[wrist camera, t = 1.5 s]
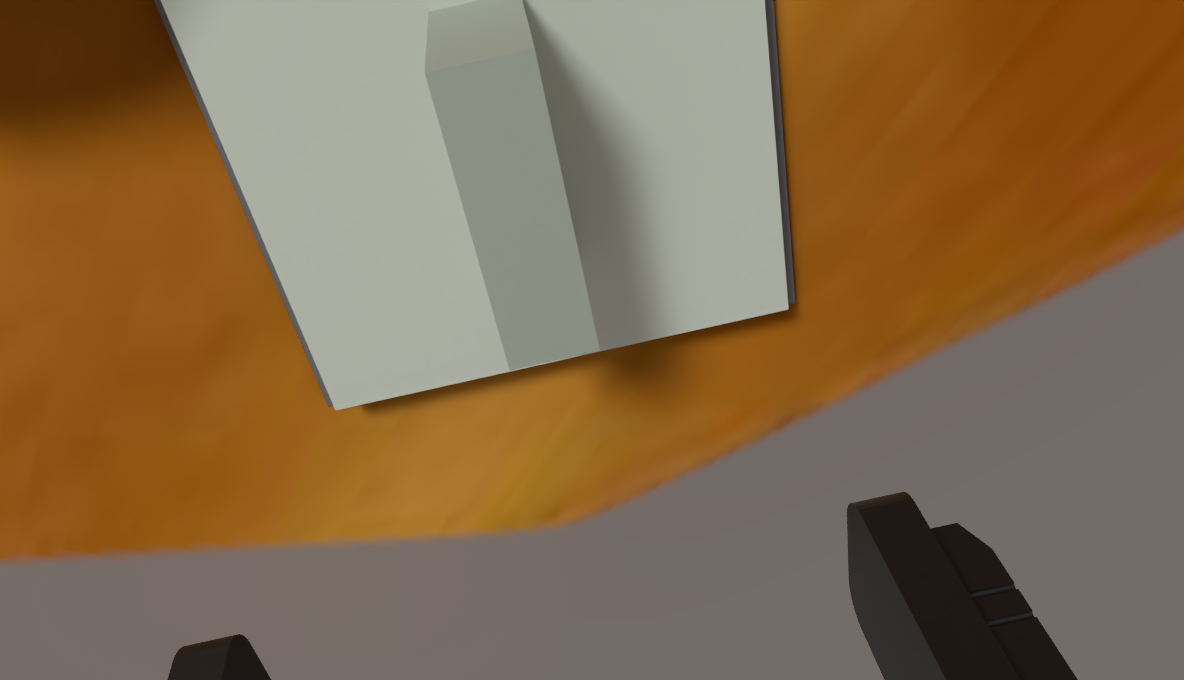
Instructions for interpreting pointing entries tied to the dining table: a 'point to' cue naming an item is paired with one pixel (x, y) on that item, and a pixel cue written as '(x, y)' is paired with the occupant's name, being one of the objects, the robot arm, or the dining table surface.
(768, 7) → the mat
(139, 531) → the dining table surface
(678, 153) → the cover
